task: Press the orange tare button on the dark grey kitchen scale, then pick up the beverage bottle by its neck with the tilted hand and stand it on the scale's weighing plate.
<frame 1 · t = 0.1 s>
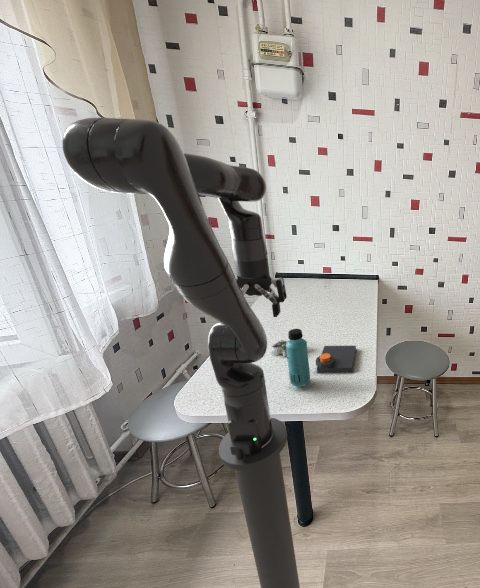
hand: (259, 315, 86), 30 cm above the table, tool pointing down, fingers open, 8 cm apart
tare button: (325, 358, 116), point 4 cm above the table, slide at 0.1 cm
beverage bottle: (300, 385, 108), on the table
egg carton: (289, 352, 126), on the table
scale: (337, 360, 122), on the table
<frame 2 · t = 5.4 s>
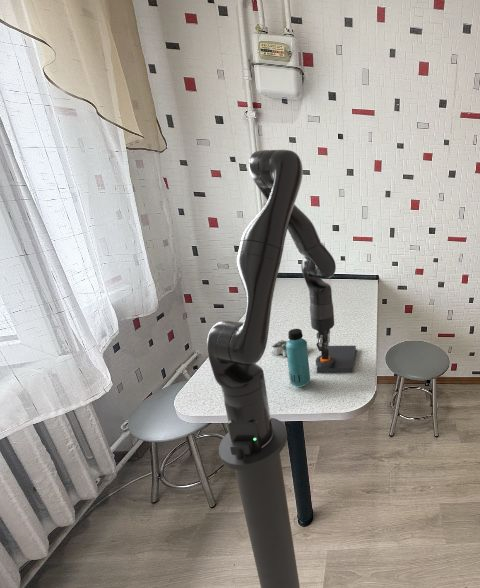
hand: (325, 357, 116), 4 cm above the table, tool pointing down, fingers closed
tare button: (325, 360, 116), point 3 cm above the table, slide at -0.7 cm, touching gripper
everything else where it was.
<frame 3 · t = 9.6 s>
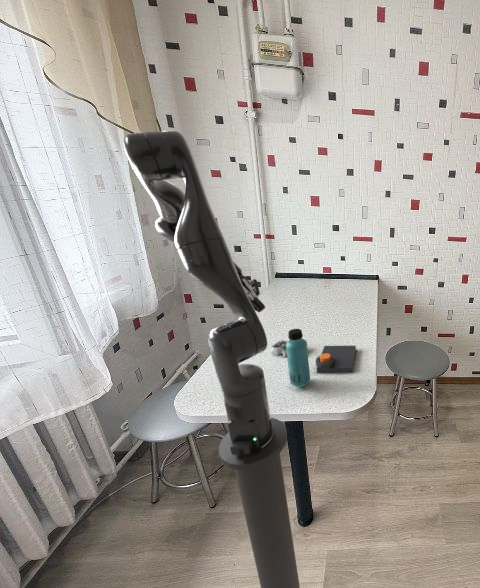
hand: (262, 310, 100), 26 cm above the table, tool tilted 45°, fingers closed
tare button: (325, 358, 116), point 4 cm above the table, slide at 0.1 cm
everything else where it was.
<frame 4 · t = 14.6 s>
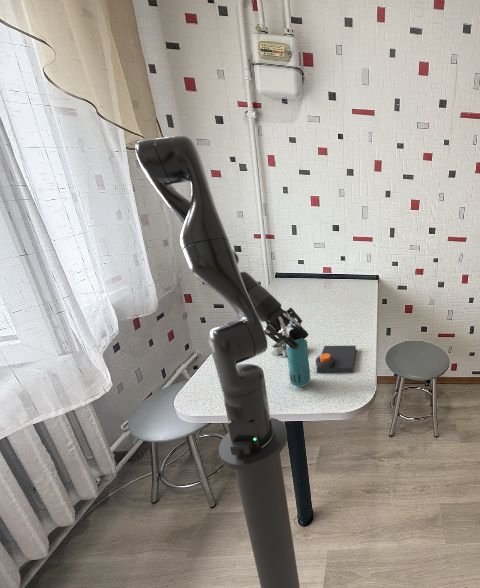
hand: (301, 341, 101), 16 cm above the table, tool tilted 45°, fingers closed on beverage bottle, 6 cm apart
beverage bottle: (300, 385, 108), on the table, touching gripper
everything else where it was.
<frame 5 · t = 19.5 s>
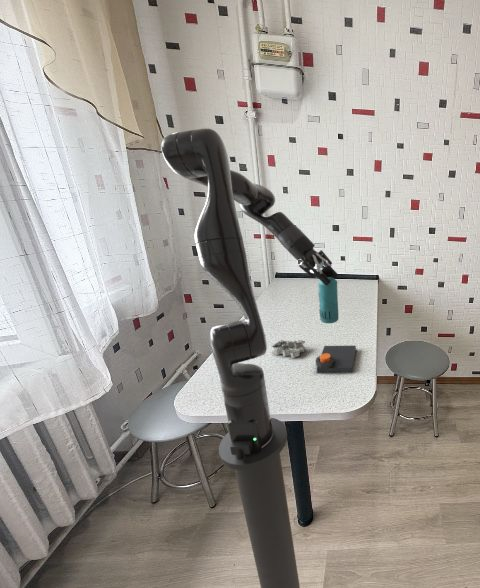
hand: (332, 280, 109), 32 cm above the table, tool tilted 45°, fingers closed on beverage bottle, 6 cm apart
beverage bottle: (329, 324, 115), point 15 cm above the table, touching gripper
everything else where it was.
when the fingers open (18 cm above the table, at t = 24.5 s): beverage bottle stays where it is, resting on scale.
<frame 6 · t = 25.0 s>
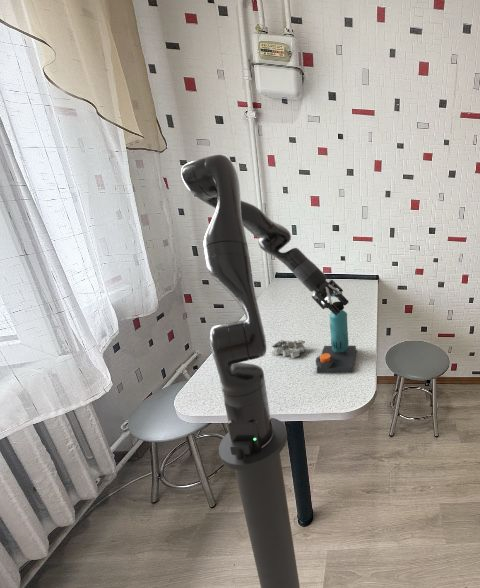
hand: (342, 308, 117), 20 cm above the table, tool tilted 45°, fingers open, 8 cm apart
beverage bottle: (340, 352, 124), point 2 cm above the table, touching scale
everything else where it was.
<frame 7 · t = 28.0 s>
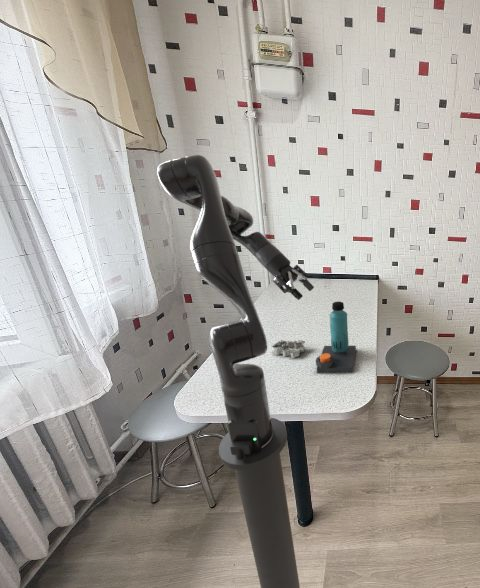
hand: (306, 293, 116), 25 cm above the table, tool tilted 45°, fingers open, 8 cm apart
nothing on the table moved.
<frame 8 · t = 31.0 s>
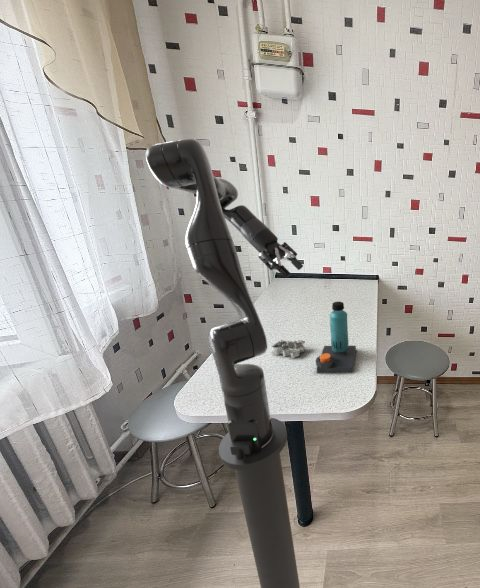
hand: (295, 271, 110), 34 cm above the table, tool tilted 45°, fingers open, 8 cm apart
nothing on the table moved.
at the end: tare button pushed in 0.9 cm at the most during the clip, back to where it started at the end; beverage bottle inside the target area on the scale (3.2 cm from its centre), point 1.7 cm above the scale's base; beverage bottle touching scale; beverage bottle tilted 0° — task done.
